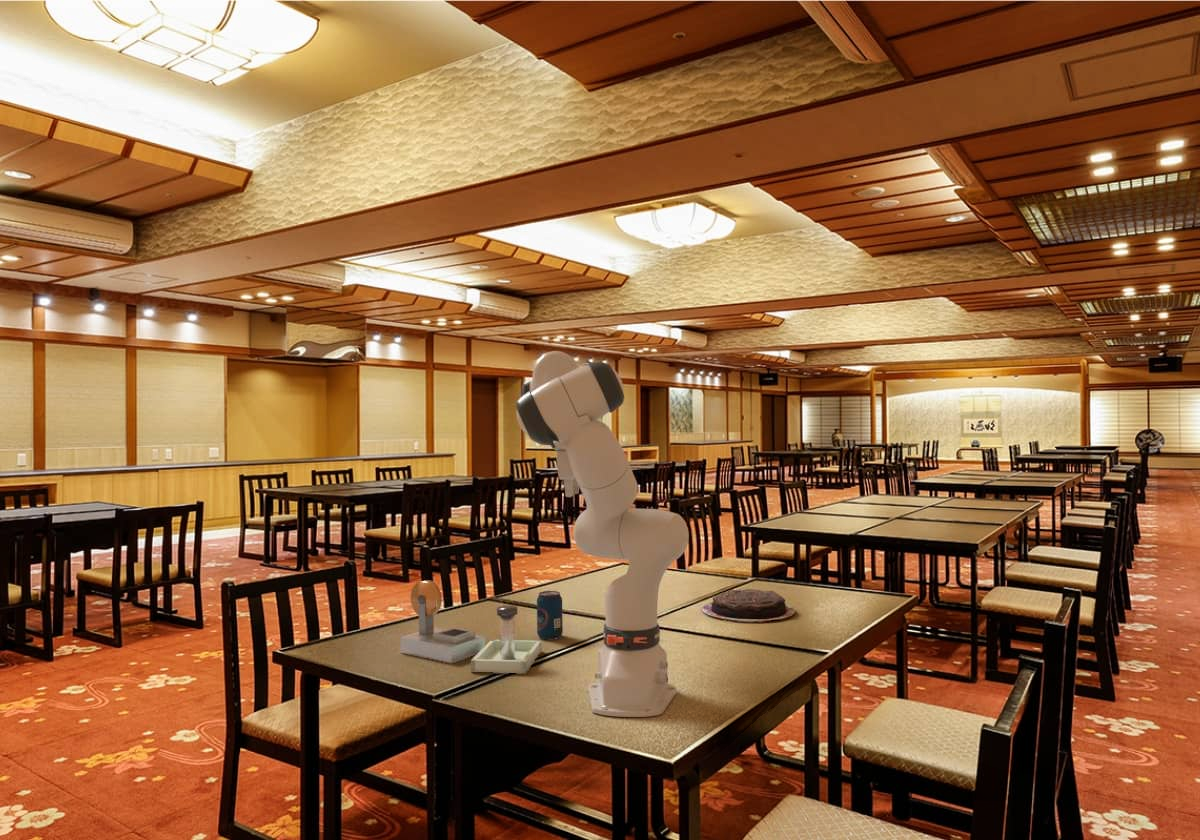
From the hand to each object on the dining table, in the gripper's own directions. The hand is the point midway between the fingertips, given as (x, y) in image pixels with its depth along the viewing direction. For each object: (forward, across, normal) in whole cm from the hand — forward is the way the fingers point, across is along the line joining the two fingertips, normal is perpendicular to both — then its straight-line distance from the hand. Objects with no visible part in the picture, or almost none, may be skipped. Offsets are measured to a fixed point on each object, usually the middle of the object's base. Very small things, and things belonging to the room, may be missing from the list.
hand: (572, 495), depth 202 cm
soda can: (+39, -8, -8) cm, 41 cm away
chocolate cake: (+40, -41, +47) cm, 74 cm away
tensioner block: (+39, +8, -33) cm, 52 cm away
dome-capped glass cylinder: (+38, +15, -14) cm, 44 cm away
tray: (+39, +15, -14) cm, 44 cm away
